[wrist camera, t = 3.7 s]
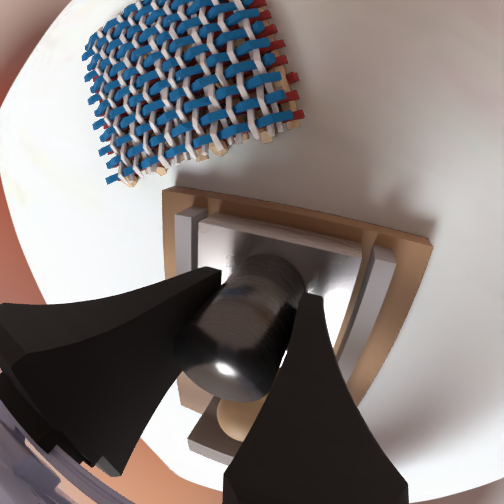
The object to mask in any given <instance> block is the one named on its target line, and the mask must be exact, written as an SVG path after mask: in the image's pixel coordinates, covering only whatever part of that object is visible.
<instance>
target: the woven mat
mask: <svg viewBox="0 0 504 504" xmlns="http://www.w3.org/2000/svg"><path fill="white" fill-rule="evenodd" d="M266 5H267V4H266V2H265V0H172V1H171V0H143V1H141V0H137V2H136V3H134V4H131V5H129V6H127V7H126V8H125V10H124V13H123V11H122V12H120V13H118V14H117V18H115V19H112V20H110V21H108V22H107V23H106V25H105V27H104V29H103V27H101V28H100V29H99V30H98V31H96V32H95V33H94V34H93V35H92V36H91V37H90V39H89V42H88V44H87V45H86V46H85V50H86V51H87V52H85V53H84V54H83V55H82V61H85V60H87V59H88V58H89V57H90V56H92V55H94V54H95V55H94V56H93V57H92V60H91V63H90V64H89V65H88V66H87V70H88V71H91V70H93V71H91V72H89V73H88V74H86V75H85V77H84V79H85V82H87V81H90V80H91V79H92V78H93V82H95V83H94V85H93V86H92V87H90V90H91V93H97V94H95V95H93V96H91V97H90V98H89V99H88V103H89V105H92V104H94V103H95V102H96V101H98V100H99V101H100V105H99V107H98V109H97V110H95V111H94V112H95V116H96V117H102V116H104V115H105V116H104V118H102V119H100V120H98V121H96V122H95V123H94V124H92V125H93V129H94V130H96V129H99V128H100V127H101V126H104V129H106V130H105V132H104V133H103V134H102V135H101V136H100V140H101V142H105V141H106V142H107V141H110V140H111V142H110V145H107V146H105V147H103V148H101V149H100V150H98V151H99V155H100V156H103V155H105V154H106V153H108V155H109V154H112V153H114V152H115V154H116V155H117V156H115V157H114V158H112V159H111V160H110V161H109V162H107V163H106V165H107V168H108V169H111V168H115V167H117V166H119V170H118V173H117V174H114V175H112V176H109V177H107V178H106V182H107V185H108V184H110V183H112V182H114V181H117V180H118V181H121V180H122V182H123V183H125V184H126V185H127V186H129V187H134V186H135V185H136V184H137V182H138V179H137V177H136V176H135V175H136V174H138V175H139V176H140V177H141V178H143V177H144V176H143V174H142V173H141V171H143V170H145V172H146V174H149V175H150V174H152V173H153V174H154V173H155V172H156V173H158V174H159V175H160V176H162V175H164V174H166V173H167V169H168V168H169V167H171V166H170V164H169V160H170V159H173V158H174V165H177V166H178V165H179V164H180V162H181V161H183V160H185V161H187V160H190V159H191V158H190V155H191V156H192V158H193V159H196V161H197V162H200V161H203V160H206V159H209V158H208V149H209V148H210V149H211V150H212V151H213V152H214V153H215V154H216V155H218V156H221V157H222V156H223V155H224V154H225V153H227V152H228V149H227V145H226V143H225V142H224V141H227V140H228V143H229V145H232V144H235V140H234V138H235V137H236V144H240V143H242V141H243V140H247V139H249V136H248V133H249V132H251V133H252V134H253V136H254V138H255V140H260V139H261V140H262V142H263V143H264V144H265V143H268V142H271V141H273V136H274V135H275V128H274V125H276V126H277V129H278V133H281V132H284V129H283V125H282V123H285V122H286V125H287V128H288V129H292V128H296V127H300V121H299V119H302V118H305V117H304V113H303V110H298V111H297V108H296V103H295V100H297V99H299V96H298V93H297V91H296V90H294V91H291V89H290V87H289V85H290V84H292V83H294V82H296V81H298V80H299V78H298V75H297V73H294V72H291V73H289V74H287V75H286V71H285V69H284V66H283V65H284V64H287V63H288V61H287V58H286V56H285V55H282V56H280V55H279V52H278V49H279V48H282V47H285V43H284V41H283V40H278V41H275V40H274V37H273V35H272V34H274V33H277V29H276V26H275V25H274V24H271V25H269V24H268V21H267V19H270V18H272V17H271V14H270V12H269V11H268V10H266V11H263V8H262V7H263V6H266ZM136 10H137V11H136ZM122 13H123V15H122ZM252 24H253V25H252ZM250 25H252V26H250ZM114 26H115V28H114ZM102 29H103V31H102ZM260 54H264V56H263V57H262V58H261V57H260ZM98 60H99V61H98ZM97 62H98V63H97ZM239 62H240V63H239ZM191 65H193V66H191ZM189 66H191V67H189ZM268 69H269V73H267V71H266V70H268ZM214 71H215V74H213V75H212V74H211V73H212V72H214ZM244 79H245V82H244ZM193 82H194V83H193ZM192 83H193V84H192ZM235 83H237V85H234V84H235ZM216 89H218V90H217V91H215V90H216ZM264 90H266V91H267V95H265V94H264ZM200 94H201V98H199V99H196V98H195V96H197V95H200ZM248 94H249V95H248ZM241 96H242V98H243V100H244V101H242V102H240V100H239V97H241ZM249 96H250V97H249ZM159 97H160V100H157V101H155V102H153V101H154V100H155V99H157V98H159ZM224 102H226V108H225V109H222V108H221V106H220V104H221V103H224ZM122 104H123V106H120V105H122ZM278 104H280V106H281V109H282V112H279V109H278ZM175 105H176V109H175V107H174V106H175ZM270 106H271V108H272V111H273V113H272V114H270V112H269V108H268V107H270ZM141 107H143V109H142V111H141ZM203 110H205V113H206V115H204V116H203V117H201V118H200V119H198V118H199V112H201V111H203ZM161 112H163V113H164V114H162V115H161V116H160V117H158V118H157V116H156V115H157V114H159V113H161ZM244 114H247V117H248V122H245V120H244V116H243V115H244ZM254 114H255V115H254ZM128 115H129V116H128ZM126 116H127V117H126ZM255 117H256V120H255ZM228 119H231V121H232V123H233V125H231V126H229V125H228V122H227V120H228ZM145 120H147V122H148V123H146V121H145ZM180 120H181V121H182V124H181V121H180ZM206 127H207V129H206V135H205V133H204V131H203V128H206ZM107 128H108V129H107ZM162 128H163V132H162V133H161V131H160V129H162ZM127 130H129V131H128V134H126V131H127ZM149 135H151V139H150V140H149V141H148V138H149ZM117 136H118V138H117ZM185 136H186V140H185ZM116 138H117V139H116ZM164 145H166V146H167V148H168V149H169V150H167V151H166V150H165V147H164ZM130 147H131V148H130ZM152 149H154V150H155V154H156V155H155V154H154V153H153V151H152ZM119 150H121V151H119ZM189 154H190V155H189ZM133 158H134V161H133ZM139 158H140V160H141V163H139ZM138 163H139V164H138Z"/></svg>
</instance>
